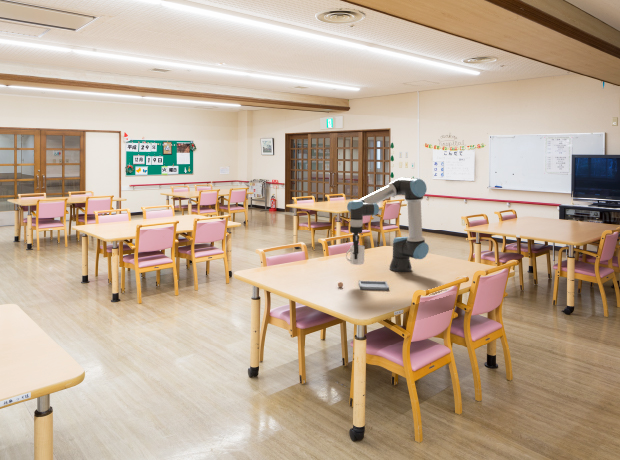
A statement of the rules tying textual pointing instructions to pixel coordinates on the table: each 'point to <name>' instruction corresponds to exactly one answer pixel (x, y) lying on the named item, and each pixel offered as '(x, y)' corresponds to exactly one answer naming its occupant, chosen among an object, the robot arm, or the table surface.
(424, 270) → the table surface
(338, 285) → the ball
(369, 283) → the tray
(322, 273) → the table surface
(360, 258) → the mug
